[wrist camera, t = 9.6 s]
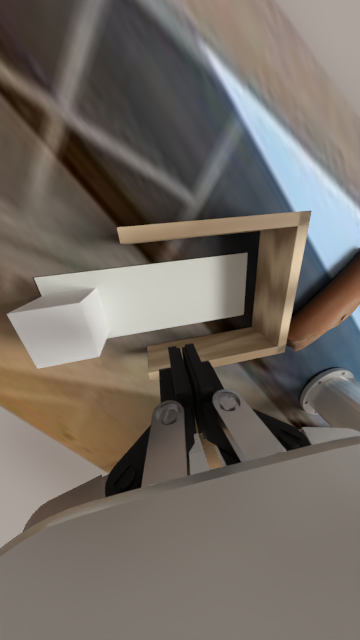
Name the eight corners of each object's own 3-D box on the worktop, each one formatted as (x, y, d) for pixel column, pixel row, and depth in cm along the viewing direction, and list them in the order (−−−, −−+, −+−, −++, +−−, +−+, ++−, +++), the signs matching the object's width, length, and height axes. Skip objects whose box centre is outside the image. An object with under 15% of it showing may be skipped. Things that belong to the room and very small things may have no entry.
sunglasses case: (295, 355, 32) (315, 366, 26) (266, 329, 33) (279, 334, 27) (377, 282, 29) (423, 273, 23) (342, 256, 30) (377, 240, 24)
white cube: (62, 339, 23) (37, 368, 17) (43, 295, 20) (5, 313, 15) (109, 331, 23) (99, 356, 18) (96, 288, 21) (79, 302, 15)
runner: (246, 252, 23) (247, 252, 23) (243, 314, 27) (243, 314, 26) (34, 277, 19) (33, 277, 19) (64, 344, 23) (63, 345, 23)
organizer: (124, 232, 19) (116, 227, 14) (269, 219, 22) (311, 210, 16) (148, 352, 26) (150, 380, 21) (257, 332, 29) (284, 352, 23)
